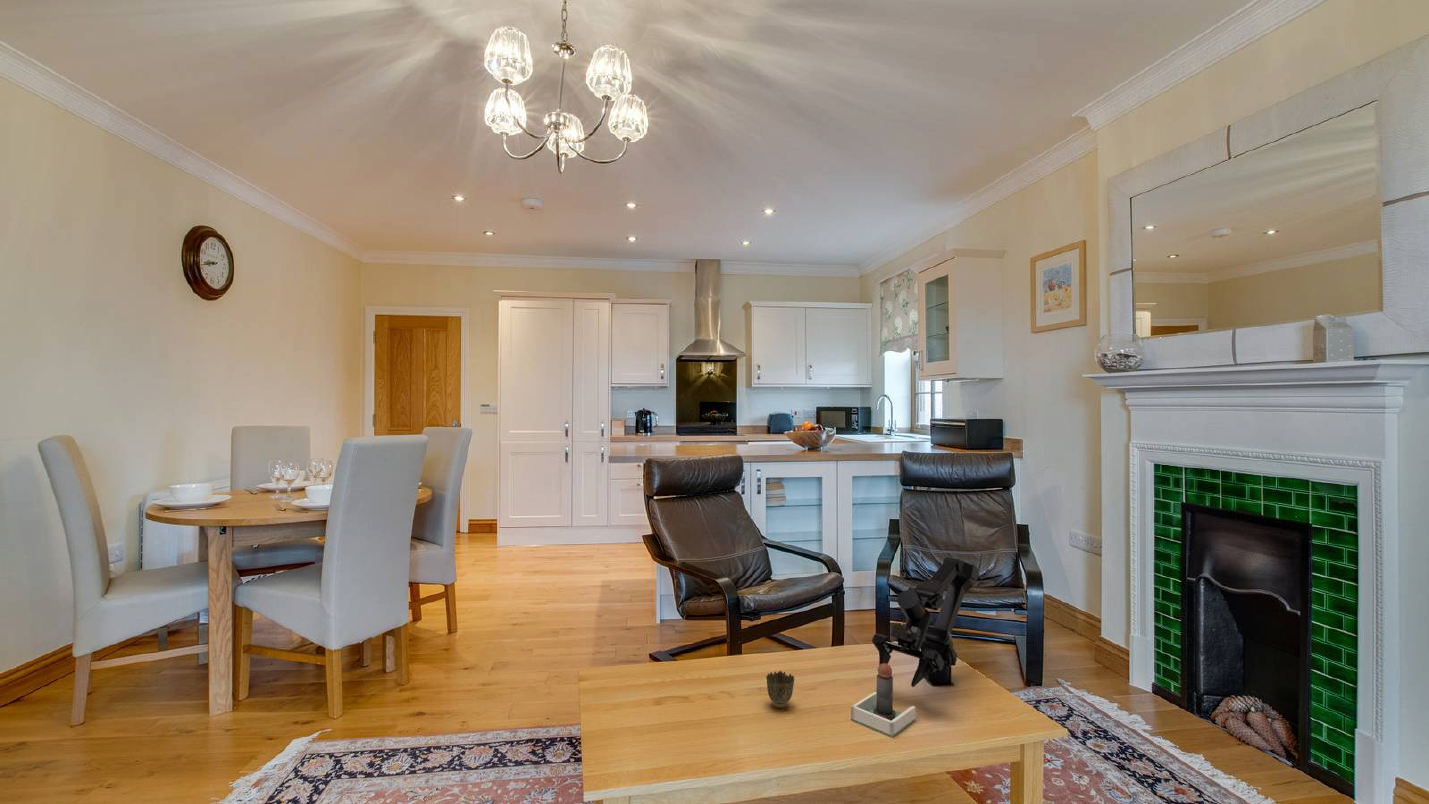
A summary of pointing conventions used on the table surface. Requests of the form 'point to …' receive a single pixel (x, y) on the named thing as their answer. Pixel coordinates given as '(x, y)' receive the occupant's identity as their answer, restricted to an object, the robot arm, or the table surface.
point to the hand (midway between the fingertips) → (895, 680)
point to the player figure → (884, 693)
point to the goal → (865, 716)
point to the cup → (780, 688)
